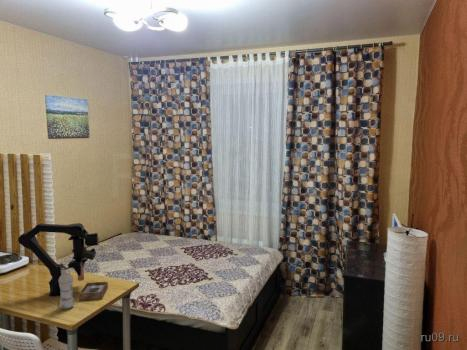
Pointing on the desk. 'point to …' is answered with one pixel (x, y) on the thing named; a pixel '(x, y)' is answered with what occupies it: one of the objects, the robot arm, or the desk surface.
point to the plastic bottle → (66, 289)
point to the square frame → (93, 291)
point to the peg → (81, 275)
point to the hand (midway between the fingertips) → (80, 274)
